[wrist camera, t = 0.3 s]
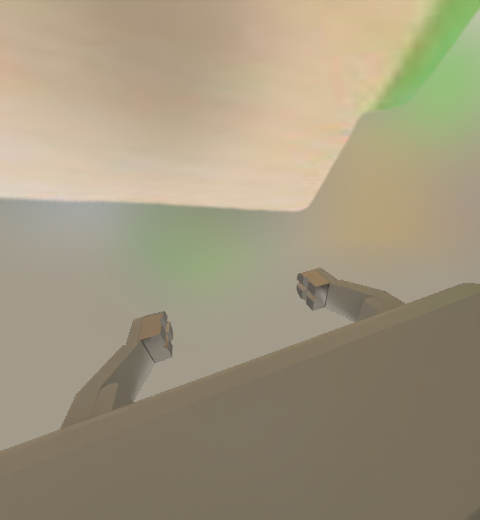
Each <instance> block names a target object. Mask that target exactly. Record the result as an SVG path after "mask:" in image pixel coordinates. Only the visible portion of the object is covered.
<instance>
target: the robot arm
mask: <svg viewBox="0 0 480 520" xmlns="http://www.w3.org/2000/svg"><path fill="white" fill-rule="evenodd" d="M297 280H298V281H299V282H298V284H297V292H298V294H299V296H300V297H301V298H302V299H304V300H306V304H307V305H308V306H309V307H310V308H311V309H312V310H317V309H320V308H324V307H325V308H327V309H329V310H331V311H333V312H335V313H337V314H339V315H341V316H343V317H346V318H348V319H349V320H352V321H354V322H355V323H352V324H349V325H347V326H344V327H341V328H338V329H336V330H333V331H330V332H328V333H324V334H322V335H319V336H316V337H314V338H311V339H308V340H305V341H303V342H300V343H297V344H294V345H292V346H289V347H286V348H283V349H280V350H278V351H275V352H272V353H269V354H267V355H264V356H261V357H259V358H256V359H253V360H250V361H248V362H245V363H242V364H239V365H236V366H233V367H231V368H228V369H225V370H223V371H220V372H217V373H214V374H212V375H209V376H206V377H203V378H200V379H198V380H195V381H192V382H189V383H187V384H184V385H181V386H178V387H176V388H173V389H171V390H167V391H165V392H162V393H159V394H156V395H154V396H151V397H148V398H145V399H143V400H140V401H137V402H133V401H134V399H135V398H136V396H137V394H138V393H139V391H140V389H141V387H142V386H143V384H144V382H145V380H146V379H147V377H148V375H149V374H150V372H151V370H152V369H153V367H154V365H155V363H157V362H160V361H162V360H165V359H168V358H171V357H172V344H171V341H172V339H173V331H172V326H171V324H170V322H169V321H167V315H166V312H164V311H163V312H159V313H155V314H151V315H147V316H144V317H140V318H136V319H134V320H133V323H132V326H131V329H130V332H129V335H128V339H127V342H126V345H123V346H122V347H121V348H120V349H119V350H118V351H117V352H116V353H115V354H114V355H113V356H112V357H111V358H110V359H109V360H108V361H107V363H106V364H105V365H104V366H103V367H102V368H101V369H100V370H99V371H98V372H97V373H96V374H95V375H94V376H93V377H92V378H91V379H90V380H89V381H88V382H87V384H86V385H85V386H84V387H83V388H82V389H81V390H80V391H79V392H78V393H77V394H76V396H75V398H74V400H73V402H72V404H71V406H70V409H69V411H68V413H67V415H66V418H65V420H64V422H63V424H62V426H61V428H60V430H57V431H54V432H52V433H49V434H46V435H43V436H41V437H38V438H35V439H32V440H30V441H27V442H24V443H21V444H19V445H16V446H13V447H10V448H8V449H5V450H2V451H0V520H480V284H475V283H463V284H460V285H457V286H454V287H451V288H448V289H446V290H443V291H440V292H438V293H435V294H432V295H429V296H427V297H424V298H421V299H419V300H416V301H413V302H410V303H407V304H405V303H404V302H402V301H400V300H399V299H397V298H396V297H394V296H392V295H390V294H389V293H387V292H386V291H382V290H379V289H374V288H371V287H367V286H363V285H359V284H355V283H351V282H348V281H344V280H337V279H336V278H335V277H333V276H332V275H331V274H329V273H328V272H326V271H325V270H324V269H322V268H316V269H313V270H310V271H307V272H303V273H299V274H298V276H297Z"/></svg>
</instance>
